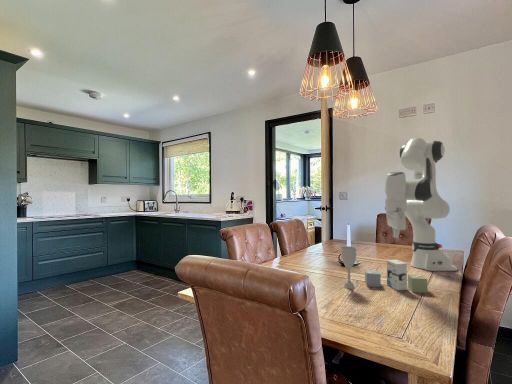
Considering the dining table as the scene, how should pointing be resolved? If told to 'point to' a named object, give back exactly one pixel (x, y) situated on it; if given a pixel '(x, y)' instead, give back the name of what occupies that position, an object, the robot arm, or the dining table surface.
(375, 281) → the slate block
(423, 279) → the olive block
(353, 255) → the chalice
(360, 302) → the dining table surface
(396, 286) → the ink box
